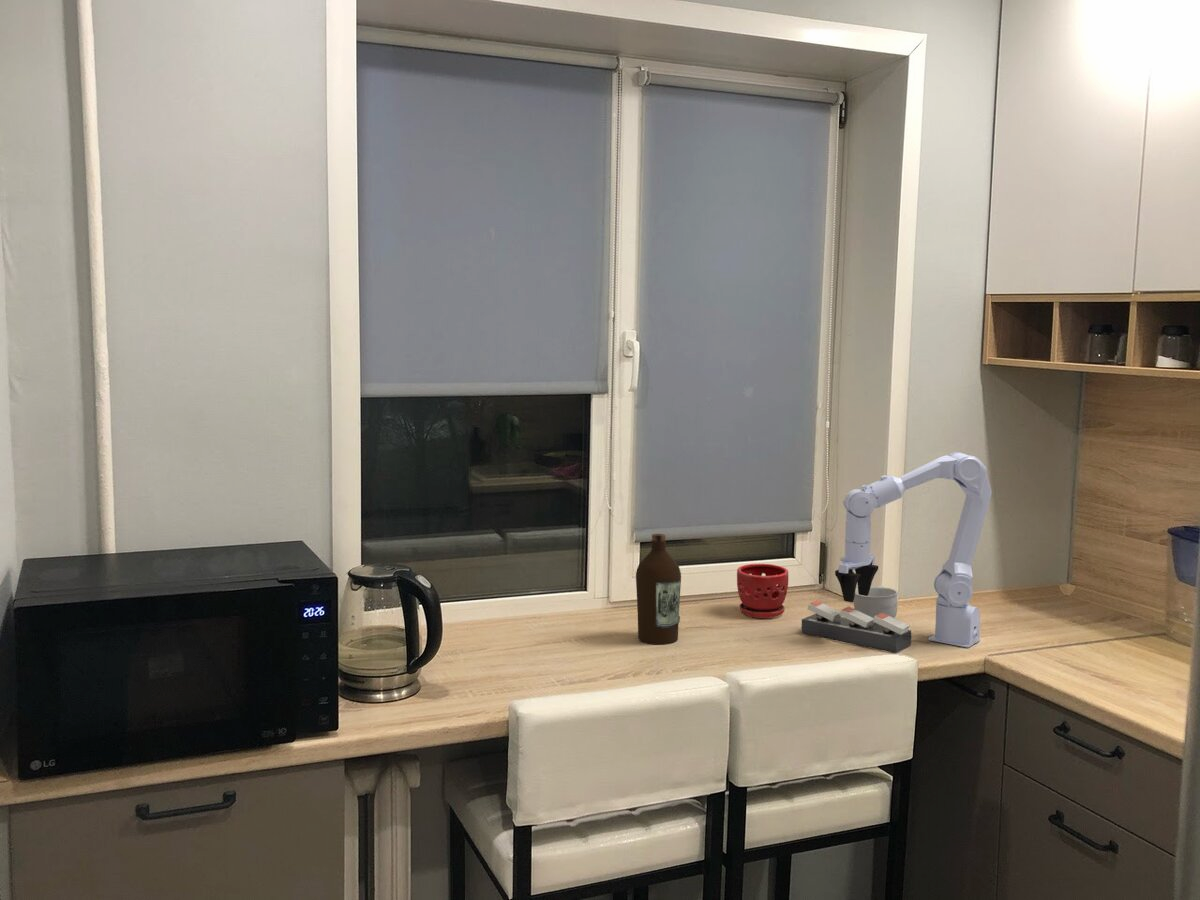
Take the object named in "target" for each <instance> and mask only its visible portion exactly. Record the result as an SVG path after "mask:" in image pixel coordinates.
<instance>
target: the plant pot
mask: <svg viewBox="0 0 1200 900" xmlns="http://www.w3.org/2000/svg"><path fill="white" fill-rule="evenodd" d="M763 574H765V575H763ZM736 586H737V594H738V598H739V599H740V601H741V603H740V604H739V610H740V612H741V613H742V614H743V615H745V616H748V617H751V618H756V619H772V618H773V619H774V618H777V617H779V616H781V615H782V614H783V613H784V612H785V606H784V605H783V604H784V602H785V599H786V597H787V593H788V589H789V570H788V569H787V568H786V567H783V566H780V565H776V564H769V563H751V564H744V565H741V566H739V567H738V568H737V569H736Z"/></svg>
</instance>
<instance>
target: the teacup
mask: <svg viewBox="0 0 1200 900" xmlns="http://www.w3.org/2000/svg"><path fill="white" fill-rule="evenodd" d="M898 592H899V591H898V590H896V589H894V588H891V587H884V586H883V585H878V586H871V587H870V591H869V594H868V596H864V595H859V593H858V588H856V590H855V597H854V601H853V609H855V610H857V611H859V612H861V613H864V614H866V615H868V616H870V617H872V618H874V616H876V615H878V614H880V613H885V614H887V615H889V616H891V617H893V618H895V617H896V616H897V614H898V594H899V593H898ZM874 624H877V623H875V622H874Z"/></svg>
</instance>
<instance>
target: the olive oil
mask: <svg viewBox="0 0 1200 900" xmlns="http://www.w3.org/2000/svg"><path fill="white" fill-rule="evenodd" d="M651 538H652V539H651V541H650V542H651V550H650V552H649V553H648V554H647V555H646V556H645V557H644V558H643V559H642V560H641V561H640V562H639V563H638V565H637V569H636V571H635V572H636V573H635V586H636V605H637V606H636V607H637V634H638V635H637V636H638V637H637V638H638V640H639V639H640V640H641V641H640V640H639V641H640V642H642V641H643V642H642V643H645V642H647V643H646V644H649V643H654V644H653V645H667V644H668V643H669V644H674V643H675V642H677V641H678V639H679V624H680V621H681V617H680V600H681V589H682V588H681V587H682V586H681V584H682V573H681V569H680V566H679V564H678V563H677V562H676V560H675V559H674V558H673V557H672V556H671V555H670V554H669V552H668V551H667V550H666V549H667V540H666V534H665V533H653V534H651ZM666 643H667V644H666ZM669 644H668V645H669Z"/></svg>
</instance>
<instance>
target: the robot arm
mask: <svg viewBox="0 0 1200 900" xmlns="http://www.w3.org/2000/svg"><path fill="white" fill-rule="evenodd" d="M879 478H880V479H879V480H877V481H875V482H872V483H870V484H868V485H867V484H863V485H861V489H859V488H856V489H855V488H854V489H852V490H850V491H848V492H847V494H845V497H844V499H843V501H842V502H843V503H842V505H843V506H844V509H845V510H846V514H845V516H846V517H845V519H846V520H845V528H844V529H845V533H844V534H845V536H844V556H843V557H842V556H841V557H840V560H839V561H840V562H841V563H839V564H838V569H837V570H835V571H834V575H835V577H836V579H837V580H838V583H839V585H840V589H841V594H842V599H843V601H844V602H849V603H854V597H855V590H856V589H858V593H859V595H864V596H868V594H869V591H870V587H872V583H873V580H874V578H875V575H876V574H877V571H878V570H879V565H878V564H877V565H876V564H875V562H876V559H875V557H876V556H875V555H874V554H871V533H872V532H871V531H872V530H871V527H872V526H871V525H872V522H871V518H872V517H871V516H872V515H871V514H872V513H873V511H874V510H875V509H879V508H881V507H883V506H886V505H888V504H890V503H892V502H896V501H898V500H899V499H902V497H903V496H904V493H905V491H906V490H911V489H912V488H915V487H917V486H920V485H922V484H925V483H927V482H929V481H932V480H935V479H945V480H953V481H954V482H956V483H957V484H958V485H959V486H960V488H961V490H962V491H963V492H964V494H965V499H964V503H963V507H962V510H961V513H960V518H959V519H958V524H957V527H956V531H955V534H954V539H953V542H952V546H951V549H950V553H949V556H948V559H947V560H946V561H945V562H944V563H943V565H942V566H941V567H942V568H941V571H940V572H939V573H938V574H937V575H936V576H935V579H934V581H933V587H934V590H935V591H936V593H937V594H938V596H937V598H936V599H935V601H936V602H935V626H934V627H935V628H934V630H935V631H934V634H933V635H932V636H930V637H928V638H927V639H928V640H929V641H932V642H937V643H942V644H948V645H952V646H956V647H957V646H958V647H963V648H970V647H971V646H973V645H975V644H976V643H978V642H980V641H981V638H980V627H981V626H980V625H981V613H980V612H981V611H980V609H979V607H976V606H972V605H970V601H971V599H972V598H973V593H974V592H973V587H972V582H973V579H974V576H973V575H974V574H973V570H972V565H973V561H974V558H975V554H976V551H977V548H978V543H979V540H980V536H981V533H982V531H983V526H984V522H985V519H986V516H987V512H988V509H989V505H990V502H991V497H992V493H993V492H992V488H991V485H990V481H989V477H988V469H987V467H986V466H985V465H984V463H983V462H982V461H981V459H979V458H978V457H977V456H974V455H969V454H966V453H963V452H961V451H954V452H952V453H949V454H948V455H943V456H940V457H938V458H936V459H934V460H931V461H929V462H928V463H926V464H923V465H921V466H919V467H917V468H915V469H913V470H911V471H909V472H907V473H905V474H903V475H901V476H899V477H897V476H894V475H888V476H887V475H886V474H884V475H881V476H879ZM854 571H855V572H854Z"/></svg>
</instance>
